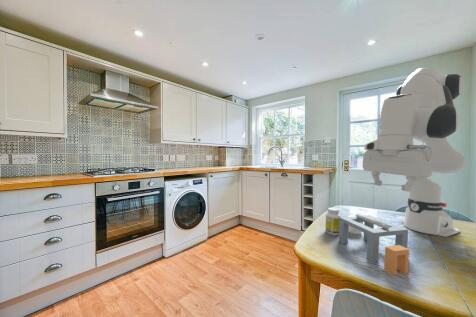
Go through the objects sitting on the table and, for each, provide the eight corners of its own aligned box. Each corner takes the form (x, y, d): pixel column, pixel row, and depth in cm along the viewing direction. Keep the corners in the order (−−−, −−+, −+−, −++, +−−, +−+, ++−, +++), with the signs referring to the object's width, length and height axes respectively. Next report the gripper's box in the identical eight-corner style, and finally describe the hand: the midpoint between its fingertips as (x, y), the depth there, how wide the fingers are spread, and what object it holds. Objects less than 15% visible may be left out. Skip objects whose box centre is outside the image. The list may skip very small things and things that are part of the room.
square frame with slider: (368, 237, 87) (369, 211, 87) (406, 257, 72) (408, 225, 71) (338, 240, 84) (339, 213, 83) (372, 261, 68) (373, 228, 68)
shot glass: (365, 235, 90) (366, 219, 89) (348, 233, 91) (349, 218, 91) (359, 229, 96) (360, 215, 96) (344, 228, 98) (344, 213, 98)
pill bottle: (340, 231, 93) (341, 208, 93) (339, 236, 88) (340, 211, 88) (326, 228, 96) (327, 206, 96) (324, 233, 91) (325, 209, 91)
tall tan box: (398, 267, 65) (399, 244, 65) (407, 273, 62) (409, 249, 62) (384, 269, 64) (385, 246, 63) (393, 275, 61) (394, 251, 60)
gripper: (441, 145, 55) (436, 195, 55) (375, 146, 75) (371, 182, 75) (423, 143, 53) (418, 195, 54) (360, 145, 73) (357, 182, 74)
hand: (390, 188), depth 65 cm, fingers open, 8 cm apart
